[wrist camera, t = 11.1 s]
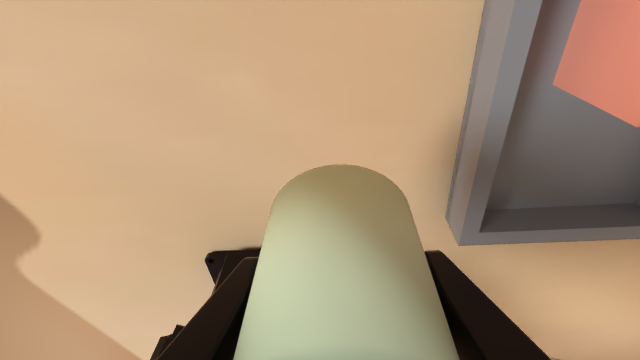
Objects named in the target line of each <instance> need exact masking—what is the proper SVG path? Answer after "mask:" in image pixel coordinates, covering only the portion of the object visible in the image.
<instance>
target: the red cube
mask: <svg viewBox="0 0 640 360" xmlns="http://www.w3.org/2000/svg"><path fill="white" fill-rule="evenodd" d="M552 85H554V86H556V87H558V88H560V89H562V90H564V91H566V92H568V93H570V94H572V95H574V96H576V97H578V98H580V99H582V100H584V101H586V102H588V103H590V104H592V105H594V106H596V107H598V108H600V109H602V110H603V111H605V112H607V113H609V114H611V115H613V116H615V117H617V118H619V119H621V120H623V121H625V122H627V123H629V124H631V125H633V126H635V127H640V0H581V2H580V5H579V8H578V11H577V14H576V16H575V19H574V22H573V25H572V28H571V31H570V34H569V37H568V40H567V43H566V46H565V49H564V52H563V55H562V58H561V61H560V64H559V67H558V70H557V73H556V76H555V79H554V82H553V84H552Z"/></svg>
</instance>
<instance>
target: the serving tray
mask: <svg viewBox="0 0 640 360" xmlns="http://www.w3.org/2000/svg"><path fill="white" fill-rule="evenodd" d="M580 2H581V0H485V3H484V8H483V14H482V19H481V25H480V30H479V36H478V41H477V47H476V52H475V58H474V63H473V68H472V74H471V79H470V85H469V90H468V96H467V101H466V107H465V112H464V118H463V123H462V129H461V134H460V139H459V145H458V150H457V156H456V161H455V167H454V172H453V178H452V183H451V189H450V194H449V199H448V205H447V210H446V216H445V218H446V220H447V222H448V224H449V226H450V229H451V231H452V233H453V235H454V237H455V239H456V241H457V244H458V246H465V245H491V244H517V243H543V242H568V241H594V240H620V239H640V127H635V126H633V125H631V124H629V123H627V122H625V121H623V120H621V119H619V118H617V117H615V116H613V115H611V114H609V113H607V112H605V111H603V110H602V109H600V108H598V107H596V106H594V105H592V104H590V103H588V102H586V101H584V100H582V99H580V98H578V97H576V96H574V95H572V94H570V93H568V92H566V91H564V90H562V89H560V88H558V87H556V86H554V85H552V84H553V82H554V79H555V76H556V73H557V70H558V67H559V64H560V61H561V58H562V55H563V52H564V49H565V46H566V43H567V40H568V37H569V34H570V31H571V28H572V25H573V22H574V19H575V16H576V14H577V11H578V8H579V5H580Z"/></svg>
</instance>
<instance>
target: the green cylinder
mask: <svg viewBox="0 0 640 360" xmlns="http://www.w3.org/2000/svg"><path fill="white" fill-rule="evenodd" d="M233 360H460V359H459V356H458V353H457V350H456V347H455V344H454V341H453V338H452V335H451V332H450V329H449V326H448V323H447V320H446V317H445V314H444V311H443V308H442V305H441V302H440V299H439V296H438V292H437V289H436V286H435V283H434V280H433V277H432V274H431V271H430V268H429V265H428V262H427V259H426V256H425V253H424V250H423V247H422V244H421V241H420V238H419V235H418V232H417V229H416V226H415V223H414V220H413V216H412V213H411V210H410V207H409V204H408V202H407V199H406V197H405V196H404V194H403V192H402V191H401V190H400V189H399V187H398V186H397V185H396V184H394V183H393V182H392V181H391V180H390V179H388V178H387V177H385V176H384V175H382V174H380V173H378V172H376V171H373V170H370V169H367V168H364V167H359V166H354V165H328V166H323V167H318V168H314V169H312V170H309V171H306V172H304V173H302V174H300V175H298V176H297V177H295V178H294V179H292V180H291V181H289V182H288V183H287V184H286V185H285V186H284V187H283V188H282V189H281V190H280V192H279V193H278V194H277V196H276V198H275V199H274V202H273V205H272V208H271V212H270V216H269V220H268V224H267V227H266V231H265V235H264V239H263V243H262V247H261V251H260V255H259V259H258V263H257V267H256V271H255V275H254V279H253V283H252V287H251V291H250V295H249V299H248V303H247V307H246V311H245V315H244V319H243V323H242V327H241V331H240V335H239V339H238V343H237V347H236V351H235V355H234V359H233Z"/></svg>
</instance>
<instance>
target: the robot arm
mask: <svg viewBox="0 0 640 360" xmlns="http://www.w3.org/2000/svg"><path fill="white" fill-rule="evenodd" d="M424 253H425V256H426V259H427V262H428V265H429V268H430V271H431V274H432V277H433V280H434V283H435V286H436V289H437V292H438V296H439V299H440V302H441V305H442V308H443V311H444V314H445V317H446V320H447V323H448V326H449V329H450V332H451V335H452V338H453V341H454V344H455V347H456V350H457V353H458V356H459V359H460V360H551V359H550V358H549V357H548V356H547V355H546V354H545V353H544V352H543V351H542V350H541V349H540V348H539V347H538V346H537V345H536V344H535V343H534V342H533V341H532V340H531V339H530V338H529V337H528V336H527V335H526V334H525V333H524V332H523V331H522V330H521V329H520V328H519V327H518V326H517V325H516V324H515V323H514V322H512V321H511V320H510V319H509V318H508V317H507V316H506V315H505V314H504V313H503V312H502V311H501V310H500V309H499V308H498V307H497V306H496V305H495V304H494V303H493V302H492V301H491V300H490V299H489V298H488V297H487V296H486V295H485V294H484V293H483V292H482V291H481V290H480V289H479V288H478V287H477V286H476V285H475V284H474V283H473V282H472V281H471V280H470V279H469V278H468V277H467V276H466V275H465V274H464V273H463V272H462V271H461V270H460V269H459V268H458V267H457V266H456V265H455V264H454V263H453V262H452V261H451V260H450V259H448V258H447V257H446V256H445V255H444V254H443V253H442V252H441V251H439V250H433V251H425V252H424ZM259 255H260V251H238V252H212V253H208V254H207V256H206V258H205V262H206V265H207V267H208V269H209V272H210V274H211V276H212V279H213V281H214V283H215V287H214V289H213V292H212V295H211V297H210V298H209V299H208V300H207V302H206V303H205V304H204V305H203V306H202V307H201V309H200V310H199V311H198V312H197V313H196V314H195V315H194V317H193V318H192V319H191V320H190V321H189V322H188V324H187V325H186V326H182V325H178V324H177V325H176V328H175V330H174V332H173V334H170V335H168V336H164V337H160V339H159V342H158V344H157V346H156V348H155V350H154V352H153V355H152V357H151V359H150V360H233V359H234V355H235V351H236V347H237V343H238V339H239V335H240V331H241V327H242V323H243V319H244V315H245V311H246V307H247V303H248V299H249V295H250V291H251V287H252V283H253V279H254V275H255V271H256V267H257V263H258V259H259Z"/></svg>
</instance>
